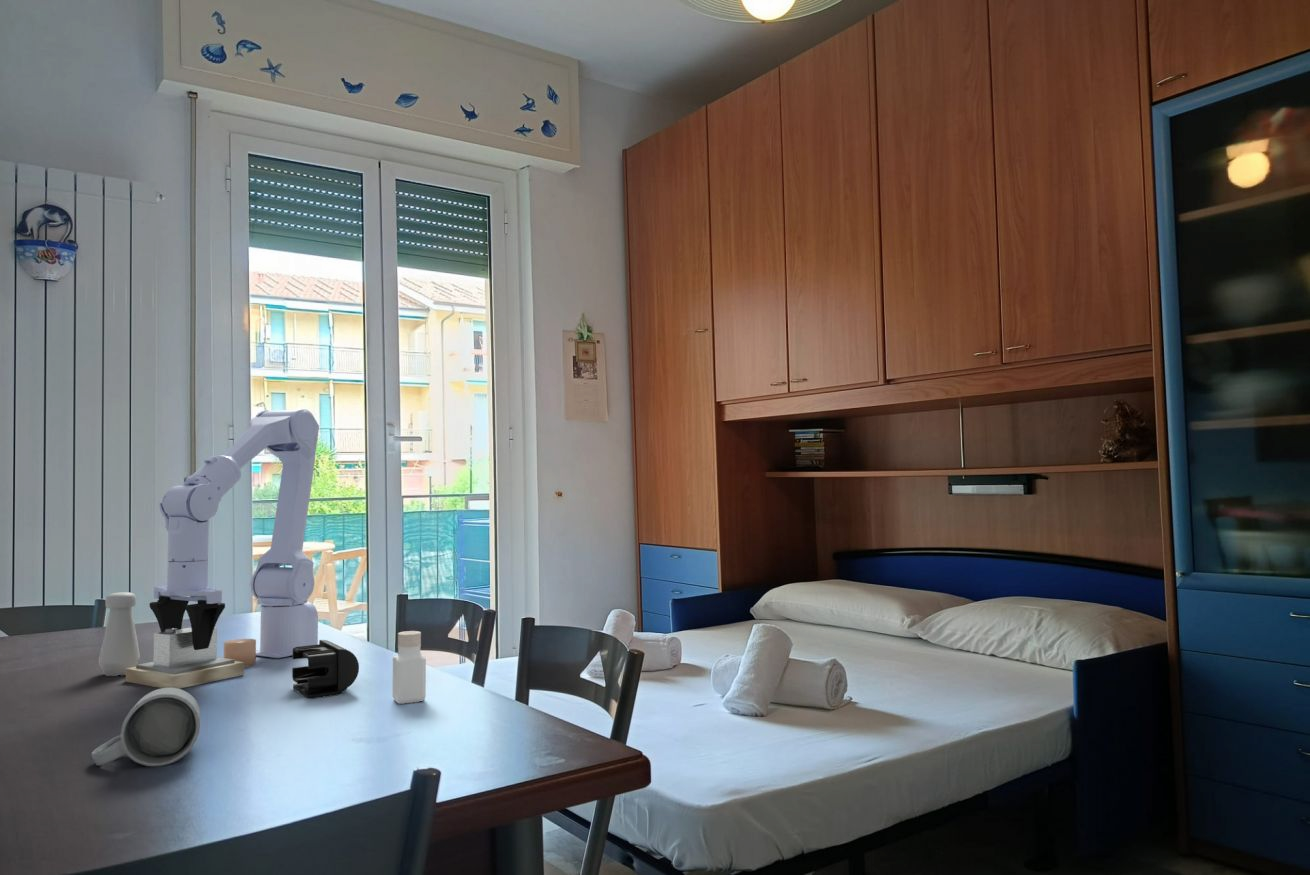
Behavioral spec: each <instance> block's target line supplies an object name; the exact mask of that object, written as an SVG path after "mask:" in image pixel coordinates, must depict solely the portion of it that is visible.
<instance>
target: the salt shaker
mask: <svg viewBox="0 0 1310 875" xmlns="http://www.w3.org/2000/svg"><path fill="white" fill-rule="evenodd" d="M136 596H137V595H136V594H135V593H133V592H128V591H124V592H121V591H120V592H113V593H109V594H108V595H107V596H106V597H105V603H104V604H105V605H104V606H105V607H106V609H109V613H108V618H107V623H106V627H105V632H104V635H103V640H102V644H101V648H100V652H99V656H98V661H97V662H98V664H99V667H100V668H101V670H102V671H103V673H104V675H105V677H119V676H118V675H121V676H126V669H127V668H132V667H136V665H138V663H139V661H140V657H141V654H140V650H139V643H138V637H137V631H136V626H135V621H134V619H135V618H134V613H133V607H135V605H136V603H137V597H136Z"/></svg>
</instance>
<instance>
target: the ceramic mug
mask: <svg viewBox="0 0 1310 875" xmlns="http://www.w3.org/2000/svg"><path fill="white" fill-rule="evenodd" d="M200 728H201V709H200V707H199V704H198V702H197V700H196V699H195V697H193V695H191V694H190V693H189V692H187V691H185V690H184V689H182V688H180V689H177V688H158V689H155V690H151V691H150V692H148V693H147V694H145V695H144V696H142V698H140V699H139V700H138V701H137V703H136V704H135V705H134V706H133V707H132V708H131V709H130V710H129V712H128V713H127V715H126V717H125V718H124V720H123V721H122V725H121V729H120V734H119V735H117V736H115V737H113V738H111V739H110V740H107V741H106V742H105V743H103V744H100V745H99V746H98V747H97V748H95V749H94V750H93V751H92V752H91V758H92V759H93V761H94V763H95V765H96V766H103V765H106V764H109V763H112V762H114V761H115V760H117V759H120V758H122V757H123V756H125V755H126V756H127V757H128V758H130V759H131V760H132V761H133V762H135V763H137V764H139V765H142V766H146V767H163V766H167V765H170V764H174V763H175V762H178V761H179V760H180V759H182V758H183V757H185V756H186V755H187V754H188V753H189V752H190V750H192V748H193V747H194V745H195V744H196V742H197V739H198V736H199V734H200Z"/></svg>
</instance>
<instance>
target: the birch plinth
mask: <svg viewBox="0 0 1310 875" xmlns="http://www.w3.org/2000/svg"><path fill="white" fill-rule="evenodd" d="M244 675H245V667H244V662H239V661H235V660H234V659H227V658H223V657H220V656H219V657H218V656H217V659H214V660H209V661H204V662H198V663H193V664H188V665H183V666H178V667H172V668H165V667H159V666H153V661H151V662H145V663H139V664H137V665H136V667H132V668H127V669H126V675H125V683H131V684H136V685H144V686H148V687H153V688H158V689H161V688H177V689H183V688H189V687H193V686H197V685H202V684H203V685H204V684H207V683H211V682H217V681H222V680H225V679H227V680H228V679H231V678H236V677H240V676H244Z"/></svg>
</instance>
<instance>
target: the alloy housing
mask: <svg viewBox="0 0 1310 875" xmlns="http://www.w3.org/2000/svg"><path fill="white" fill-rule="evenodd" d="M217 648H218V627H216V626H215V627H214V630H213V634H212V637H211V641H210V644H209V648H206V649H200V650H194V647H193V642H192V628H191V627H185V628H182V629H178V630H177V628H168V629H165V632H161V631H160V632H154V633H153V659H152V660H153V661H152V662H153V666H159V667H165V668H172V667H178V666H183V665H188V664H193V663H198V662H204V661H209V660H214V659H217V657H218V656H217V653H218V652H217V650H218V649H217Z"/></svg>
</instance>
